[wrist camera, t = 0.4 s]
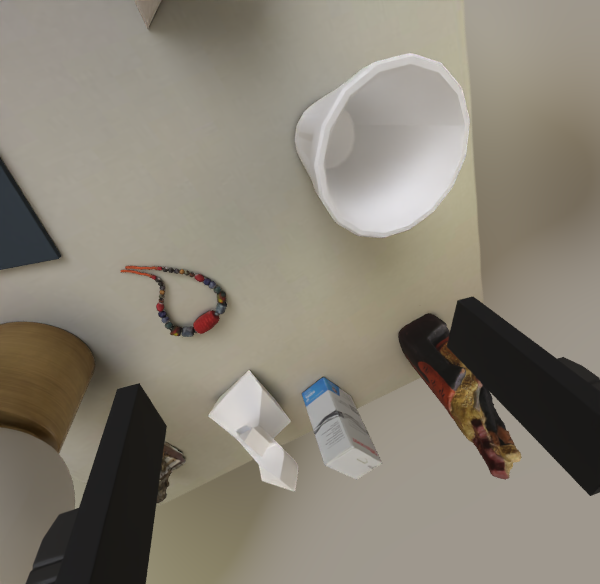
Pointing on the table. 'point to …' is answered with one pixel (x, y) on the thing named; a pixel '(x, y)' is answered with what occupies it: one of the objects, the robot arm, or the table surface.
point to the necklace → (203, 321)
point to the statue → (459, 392)
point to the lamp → (35, 435)
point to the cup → (386, 144)
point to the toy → (147, 9)
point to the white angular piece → (257, 428)
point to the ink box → (340, 430)
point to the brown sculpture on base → (168, 468)
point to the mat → (20, 228)
